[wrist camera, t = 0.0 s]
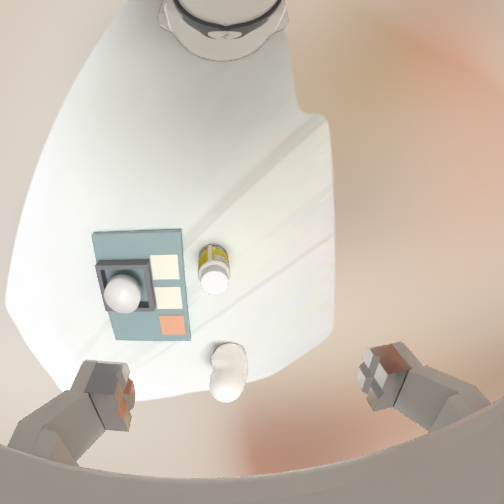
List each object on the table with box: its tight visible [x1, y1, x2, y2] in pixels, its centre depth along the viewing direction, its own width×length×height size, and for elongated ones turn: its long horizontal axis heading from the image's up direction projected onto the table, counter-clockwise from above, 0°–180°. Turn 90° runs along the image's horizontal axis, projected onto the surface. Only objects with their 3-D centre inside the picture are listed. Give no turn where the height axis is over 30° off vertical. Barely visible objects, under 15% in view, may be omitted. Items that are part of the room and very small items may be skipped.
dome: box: [104, 274, 142, 313], centre depth 47 cm, size 6×6×4 cm
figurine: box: [210, 343, 248, 402], centre depth 55 cm, size 7×8×12 cm
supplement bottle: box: [198, 244, 230, 295], centre depth 47 cm, size 5×5×8 cm
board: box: [92, 229, 191, 341], centre depth 50 cm, size 22×15×3 cm
